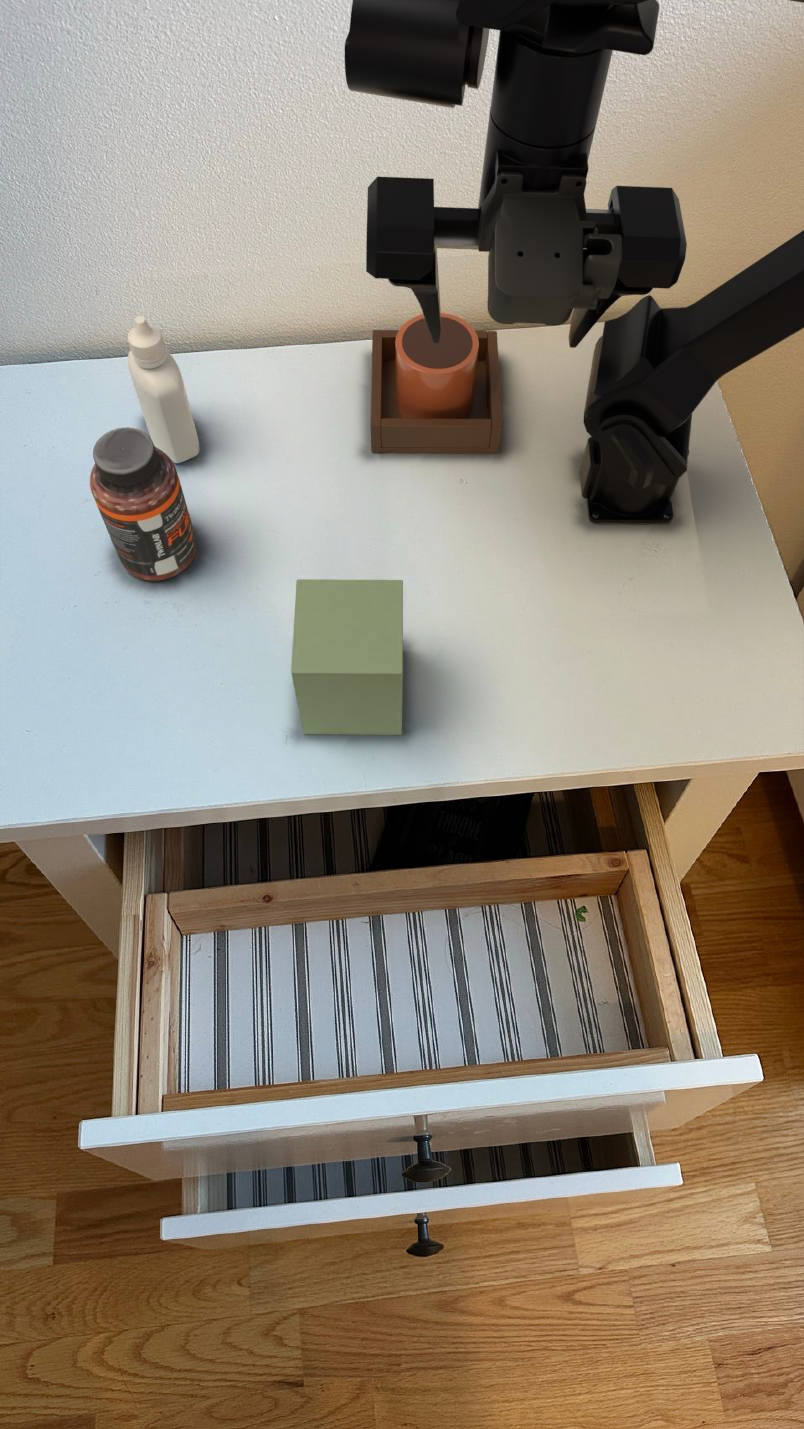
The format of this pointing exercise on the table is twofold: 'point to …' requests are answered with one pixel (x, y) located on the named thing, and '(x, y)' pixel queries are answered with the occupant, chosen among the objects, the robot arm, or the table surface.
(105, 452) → the supplement bottle
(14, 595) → the table surface
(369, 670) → the sage green cube
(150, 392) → the eye dropper bottle
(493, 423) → the tray
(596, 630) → the table surface
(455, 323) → the cup
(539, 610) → the table surface
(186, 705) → the table surface
